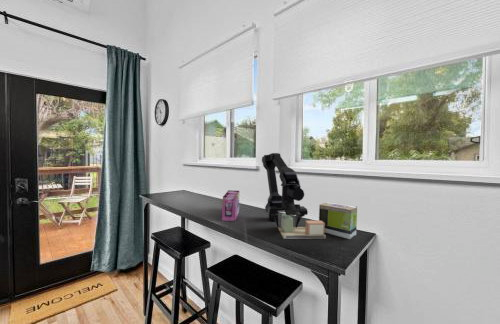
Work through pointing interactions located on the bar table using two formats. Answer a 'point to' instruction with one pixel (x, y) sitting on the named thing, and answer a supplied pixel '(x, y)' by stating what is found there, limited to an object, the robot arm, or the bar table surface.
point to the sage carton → (287, 223)
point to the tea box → (339, 219)
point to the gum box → (230, 205)
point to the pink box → (314, 228)
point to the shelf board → (299, 234)
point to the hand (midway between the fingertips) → (286, 227)
